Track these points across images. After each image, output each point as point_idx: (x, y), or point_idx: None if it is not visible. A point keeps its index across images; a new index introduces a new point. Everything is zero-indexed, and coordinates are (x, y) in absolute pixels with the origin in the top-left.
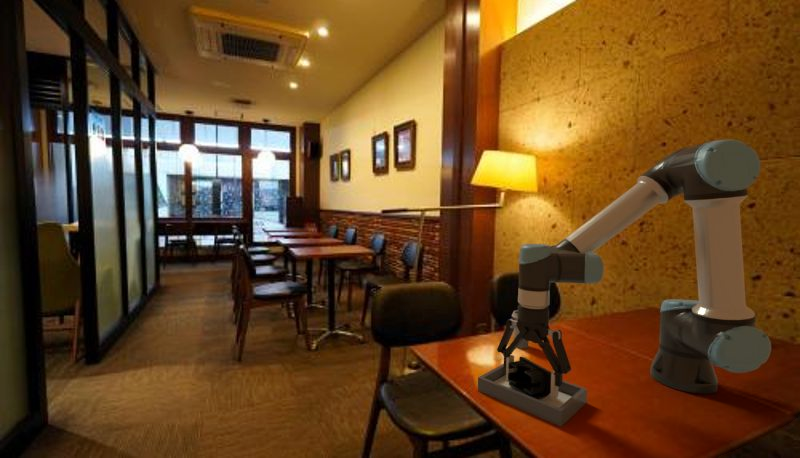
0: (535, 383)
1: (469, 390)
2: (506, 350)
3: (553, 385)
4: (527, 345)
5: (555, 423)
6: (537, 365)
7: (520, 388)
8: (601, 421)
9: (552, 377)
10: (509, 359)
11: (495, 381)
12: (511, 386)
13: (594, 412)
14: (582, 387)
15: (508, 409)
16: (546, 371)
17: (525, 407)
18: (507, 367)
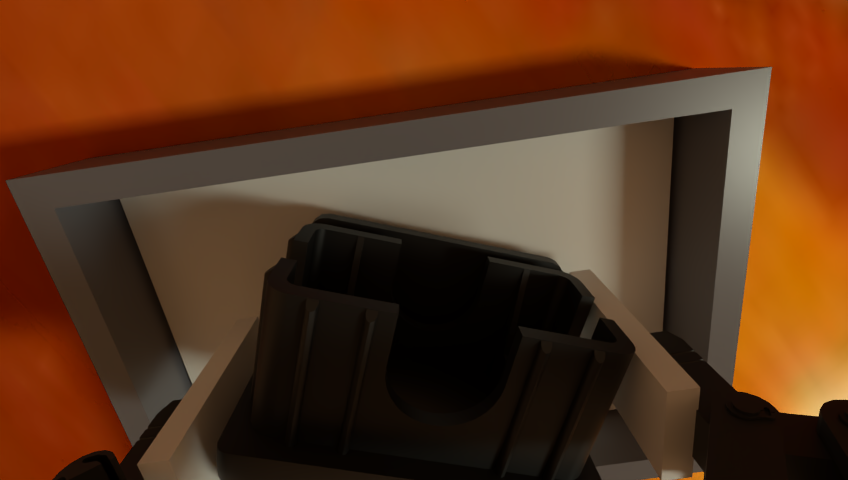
0: (397, 367)
1: (742, 16)
2: (767, 459)
3: (197, 382)
4: None
5: (115, 155)
6: None
7: (453, 263)
8: (52, 382)
9: (176, 428)
10: (658, 393)
11: (659, 244)
12: (526, 253)
13: None
14: None
15: (397, 48)
16: (227, 453)
17: (311, 127)
18: (630, 329)
